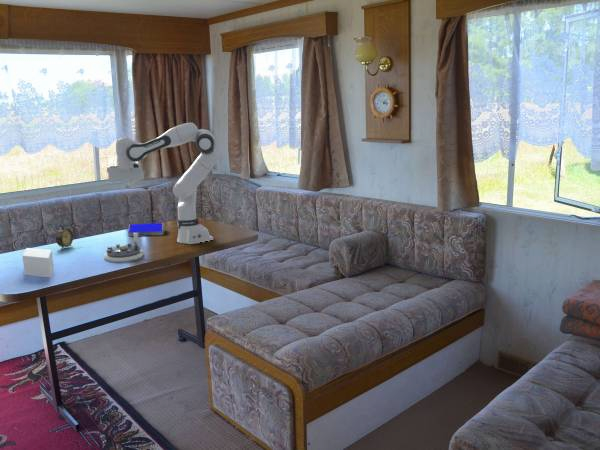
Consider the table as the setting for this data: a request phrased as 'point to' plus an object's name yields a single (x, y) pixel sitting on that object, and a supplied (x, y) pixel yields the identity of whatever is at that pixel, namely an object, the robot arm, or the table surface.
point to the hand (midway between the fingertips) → (127, 188)
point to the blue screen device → (146, 229)
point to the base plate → (123, 259)
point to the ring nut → (129, 251)
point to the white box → (38, 262)
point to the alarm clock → (64, 237)
